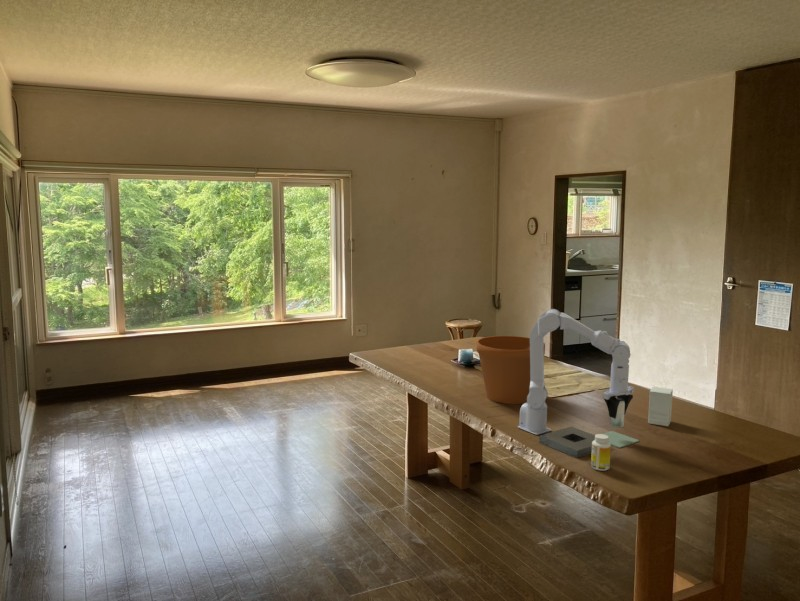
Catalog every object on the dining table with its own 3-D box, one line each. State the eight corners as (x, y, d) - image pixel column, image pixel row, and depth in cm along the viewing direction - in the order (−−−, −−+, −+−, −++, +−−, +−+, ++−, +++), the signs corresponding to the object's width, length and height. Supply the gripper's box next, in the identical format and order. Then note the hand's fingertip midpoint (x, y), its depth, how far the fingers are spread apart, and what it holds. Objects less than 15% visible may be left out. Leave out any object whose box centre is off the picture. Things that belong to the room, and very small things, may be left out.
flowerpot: (548, 392, 271) (551, 339, 267) (534, 411, 245) (536, 353, 242) (486, 384, 282) (488, 333, 279) (466, 401, 257) (467, 346, 254)
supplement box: (671, 421, 235) (673, 388, 234) (668, 427, 229) (670, 393, 227) (650, 417, 239) (652, 385, 237) (647, 423, 233) (649, 390, 231)
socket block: (539, 442, 213) (539, 435, 213) (570, 433, 222) (570, 426, 222) (576, 458, 200) (577, 450, 200) (608, 447, 209) (608, 440, 209)
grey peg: (607, 424, 216) (608, 399, 214) (615, 422, 218) (616, 397, 217) (618, 428, 212) (619, 403, 211) (626, 425, 215) (627, 400, 213)
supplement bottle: (612, 467, 193) (614, 436, 191) (604, 473, 189) (606, 440, 187) (595, 462, 197) (597, 431, 195) (587, 467, 193) (589, 436, 191)
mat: (592, 438, 217) (592, 437, 217) (612, 431, 224) (612, 430, 224) (619, 448, 209) (619, 447, 208) (639, 441, 215) (639, 440, 215)
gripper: (616, 383, 205) (613, 423, 207) (642, 376, 214) (640, 415, 216) (598, 378, 211) (596, 417, 213) (624, 372, 219) (622, 409, 221)
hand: (617, 415), depth 215 cm, fingers closed on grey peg, 4 cm apart
